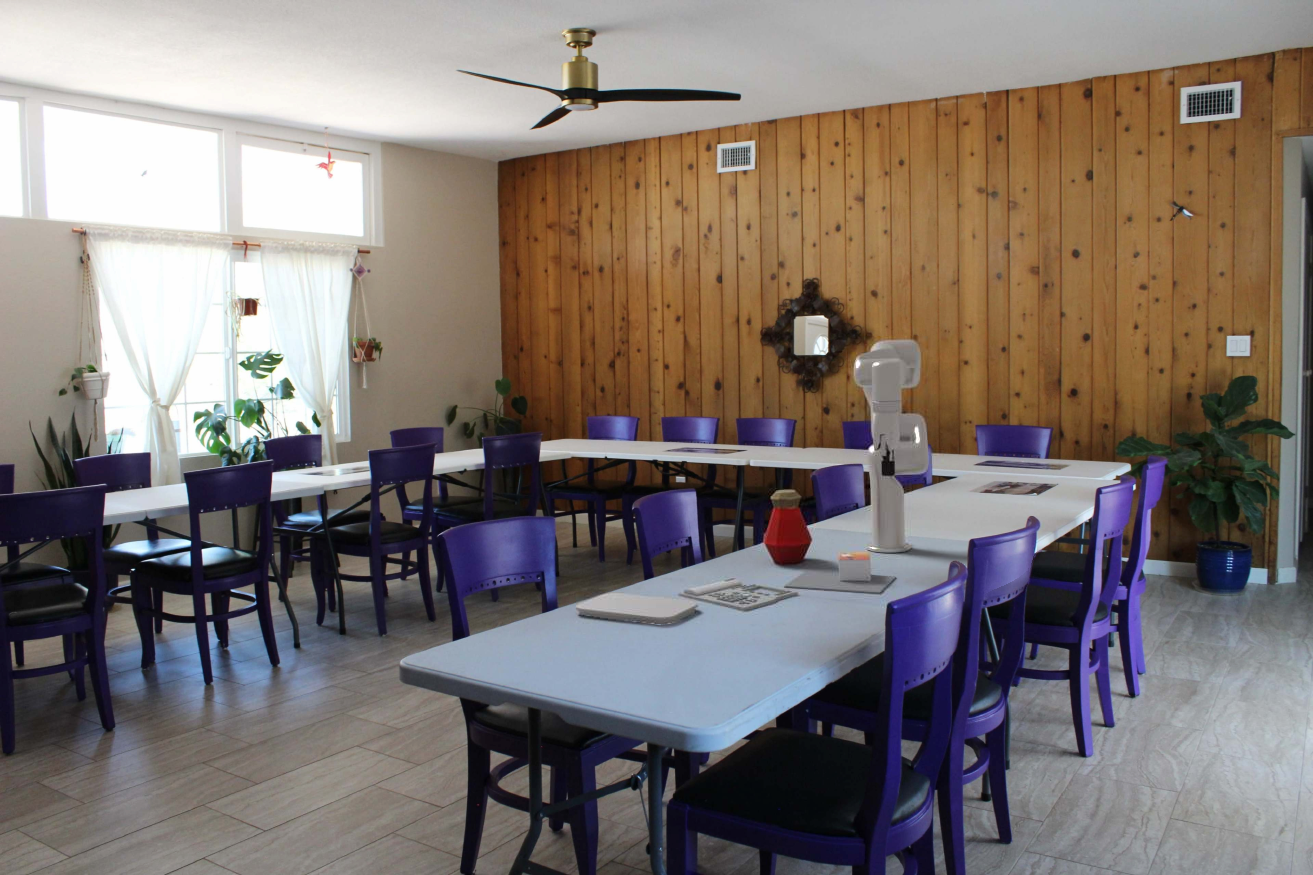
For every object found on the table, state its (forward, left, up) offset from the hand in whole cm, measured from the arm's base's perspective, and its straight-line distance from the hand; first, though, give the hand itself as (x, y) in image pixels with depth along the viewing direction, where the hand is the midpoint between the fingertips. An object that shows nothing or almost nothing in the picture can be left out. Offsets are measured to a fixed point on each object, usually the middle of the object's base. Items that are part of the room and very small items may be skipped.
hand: (888, 475), depth 262 cm
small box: (+10, -7, -22) cm, 25 cm away
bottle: (-1, -29, -25) cm, 38 cm away
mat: (+21, -8, -25) cm, 34 cm away
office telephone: (+41, -28, -26) cm, 56 cm away
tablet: (+63, -45, -26) cm, 82 cm away
